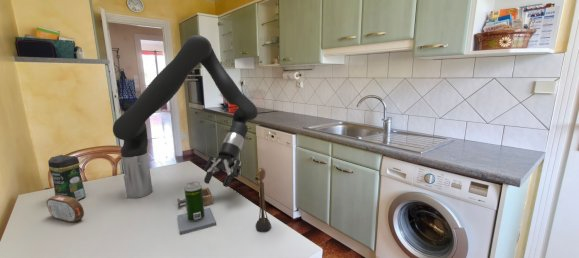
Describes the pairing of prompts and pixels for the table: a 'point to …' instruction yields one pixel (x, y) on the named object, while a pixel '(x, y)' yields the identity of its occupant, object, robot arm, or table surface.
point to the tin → (65, 208)
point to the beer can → (194, 201)
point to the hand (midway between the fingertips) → (215, 184)
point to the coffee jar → (66, 176)
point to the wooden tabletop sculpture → (262, 204)
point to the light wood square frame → (206, 198)
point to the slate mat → (188, 226)
